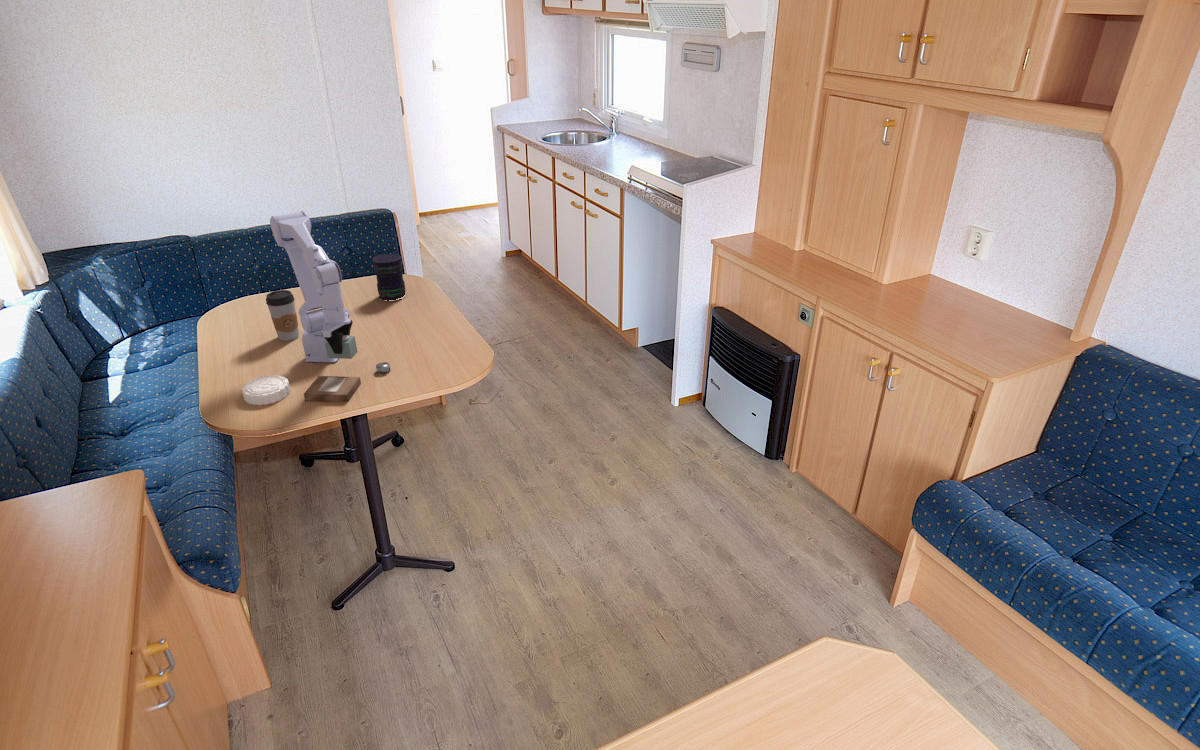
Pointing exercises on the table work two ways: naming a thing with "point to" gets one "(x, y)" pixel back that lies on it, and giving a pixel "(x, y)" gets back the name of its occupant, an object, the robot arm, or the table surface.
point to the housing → (343, 348)
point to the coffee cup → (283, 314)
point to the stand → (332, 388)
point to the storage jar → (389, 276)
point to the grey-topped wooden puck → (383, 368)
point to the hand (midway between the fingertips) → (341, 349)
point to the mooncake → (266, 390)
